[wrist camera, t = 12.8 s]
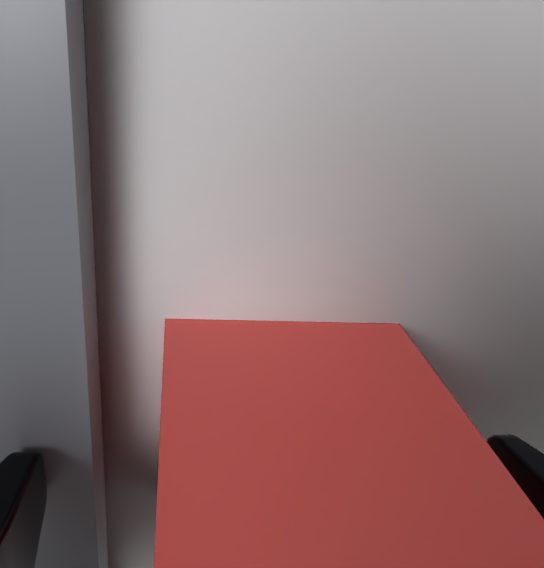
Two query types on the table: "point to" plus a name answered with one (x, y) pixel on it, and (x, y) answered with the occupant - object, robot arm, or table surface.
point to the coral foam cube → (325, 455)
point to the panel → (50, 275)
